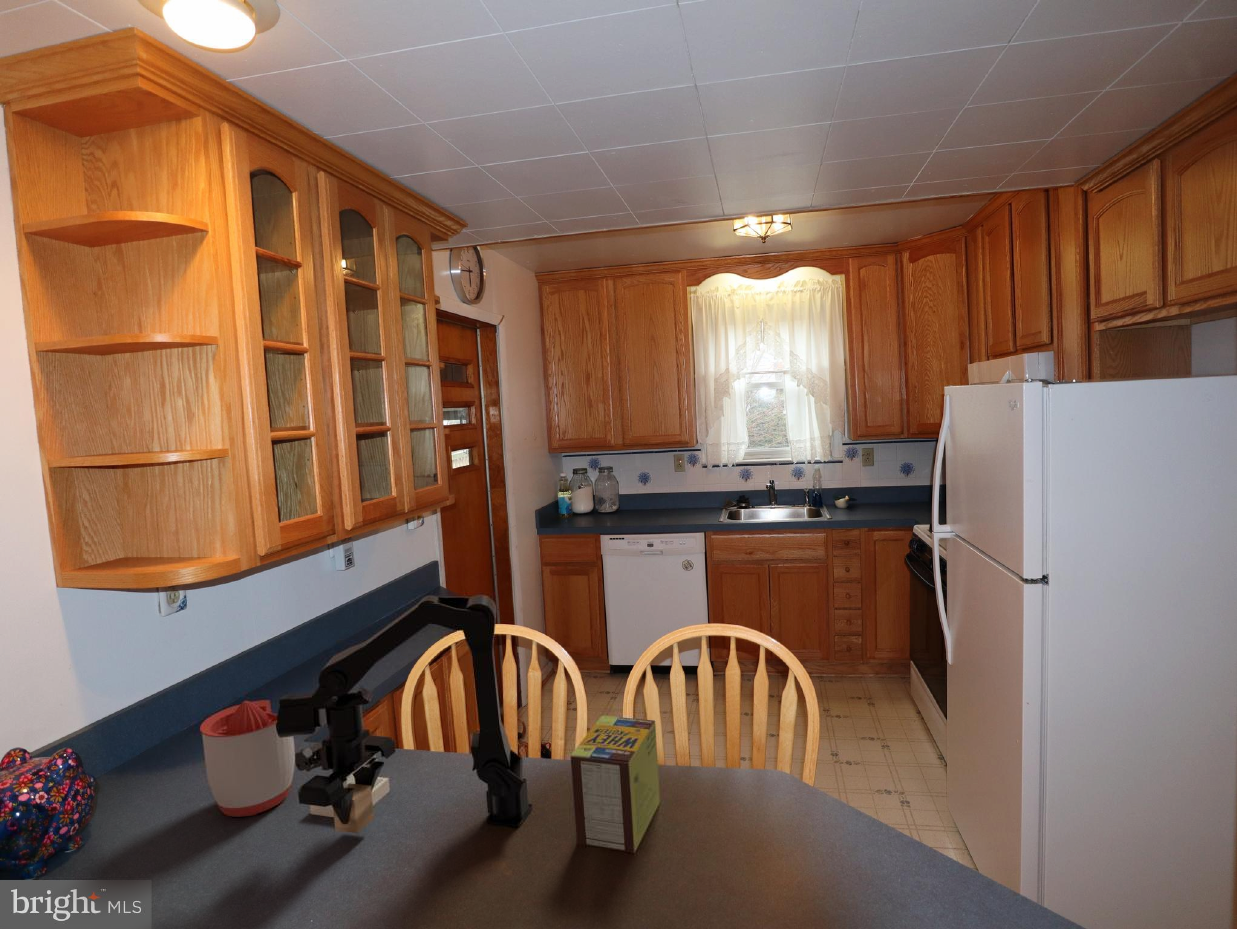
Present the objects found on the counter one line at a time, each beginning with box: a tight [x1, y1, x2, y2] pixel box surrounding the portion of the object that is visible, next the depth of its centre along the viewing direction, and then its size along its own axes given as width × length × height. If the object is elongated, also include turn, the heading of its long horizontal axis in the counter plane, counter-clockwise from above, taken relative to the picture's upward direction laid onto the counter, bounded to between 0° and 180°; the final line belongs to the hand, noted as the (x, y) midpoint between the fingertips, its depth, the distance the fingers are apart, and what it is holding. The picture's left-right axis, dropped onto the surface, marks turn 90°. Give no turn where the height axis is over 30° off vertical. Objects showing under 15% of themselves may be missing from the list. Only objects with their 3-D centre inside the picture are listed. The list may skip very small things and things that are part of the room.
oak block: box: [333, 783, 375, 834], centre depth 123 cm, size 4×4×6 cm
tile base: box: [309, 775, 391, 818], centre depth 134 cm, size 10×10×3 cm
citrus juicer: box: [199, 699, 296, 818], centre depth 136 cm, size 16×17×20 cm
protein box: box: [570, 715, 661, 854], centre depth 122 cm, size 10×15×16 cm
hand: (354, 815), depth 123 cm, fingers closed on oak block, 4 cm apart
